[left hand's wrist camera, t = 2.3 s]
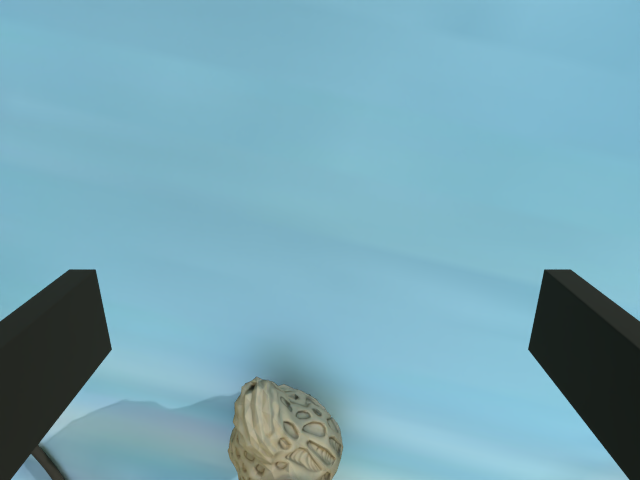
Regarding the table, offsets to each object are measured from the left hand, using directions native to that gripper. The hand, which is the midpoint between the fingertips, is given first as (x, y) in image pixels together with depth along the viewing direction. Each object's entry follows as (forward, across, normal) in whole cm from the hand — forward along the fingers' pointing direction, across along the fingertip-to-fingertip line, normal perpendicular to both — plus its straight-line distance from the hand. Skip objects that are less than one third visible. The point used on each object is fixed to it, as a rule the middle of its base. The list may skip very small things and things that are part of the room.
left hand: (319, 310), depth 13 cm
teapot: (+28, -3, -30) cm, 41 cm away
